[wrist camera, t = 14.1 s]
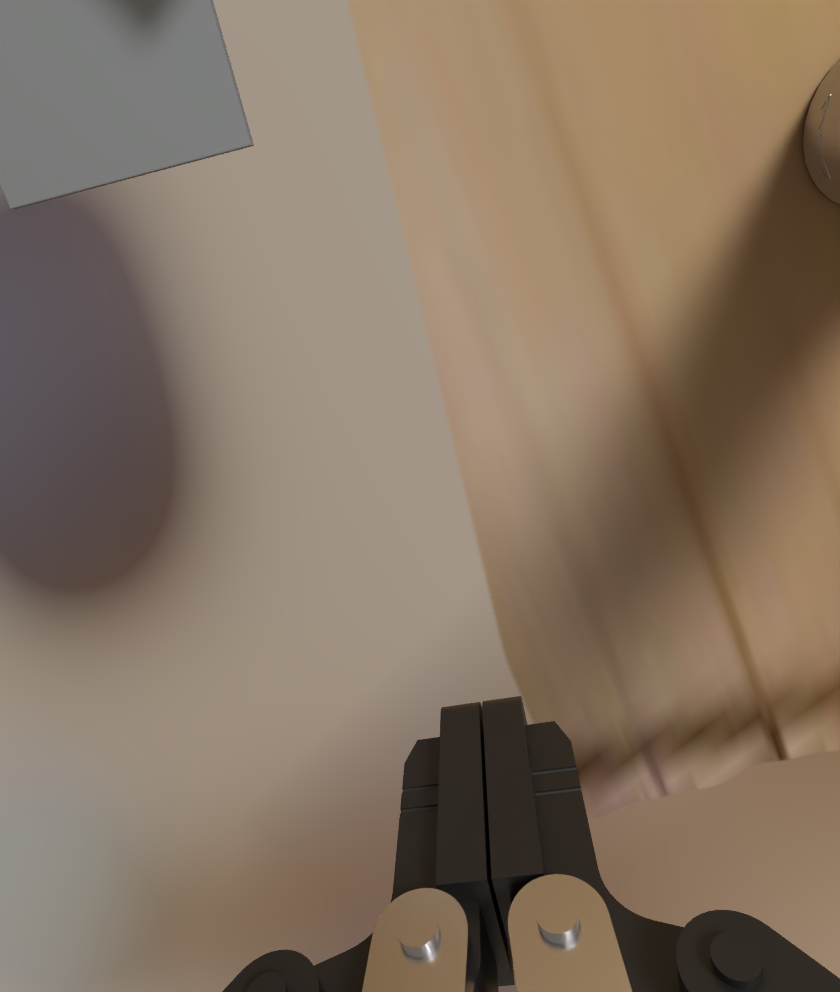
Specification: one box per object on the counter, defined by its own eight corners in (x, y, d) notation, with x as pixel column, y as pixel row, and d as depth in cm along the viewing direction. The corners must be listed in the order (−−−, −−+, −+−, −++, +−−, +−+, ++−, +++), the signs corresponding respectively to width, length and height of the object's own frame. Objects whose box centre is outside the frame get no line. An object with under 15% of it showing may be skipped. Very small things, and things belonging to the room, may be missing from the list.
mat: (141, -251, 33) (135, -258, 33) (253, 145, 40) (250, 144, 40) (-136, -152, 35) (-146, -158, 35) (16, 208, 42) (10, 208, 42)
